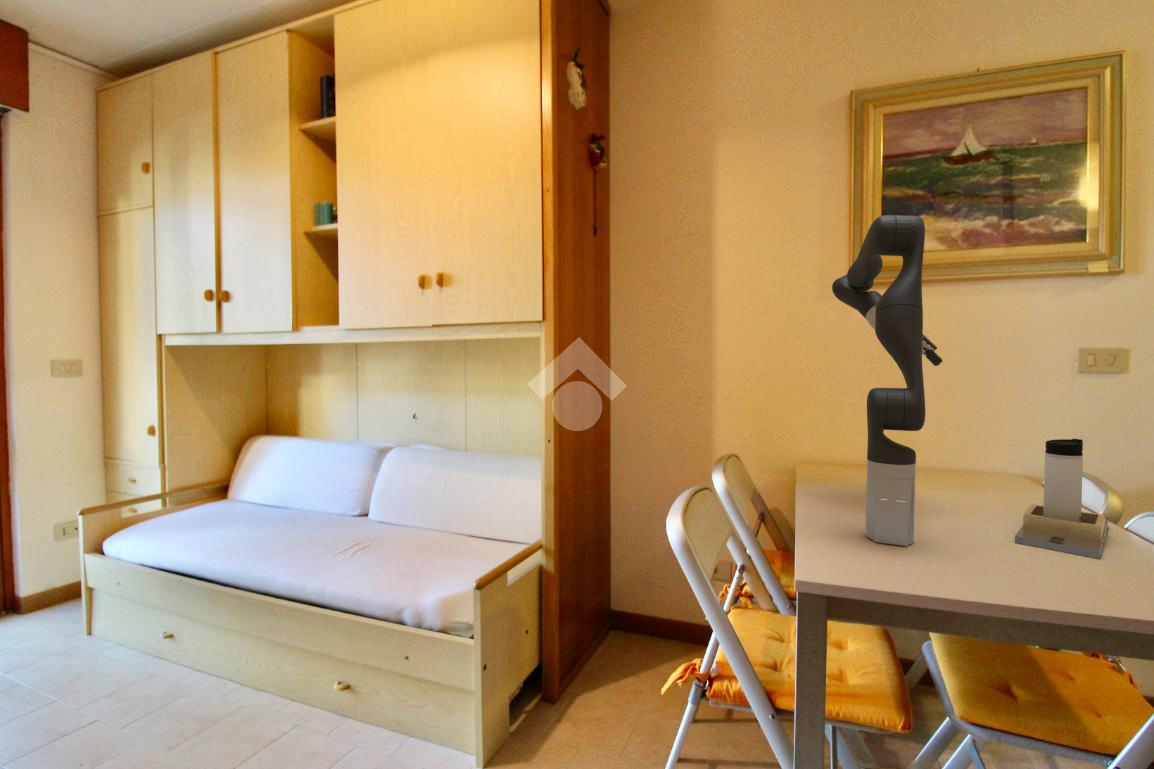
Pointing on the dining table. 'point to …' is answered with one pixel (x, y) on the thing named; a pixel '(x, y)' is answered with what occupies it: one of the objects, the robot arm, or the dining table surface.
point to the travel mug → (1063, 479)
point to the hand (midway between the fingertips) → (928, 363)
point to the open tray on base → (1063, 532)
